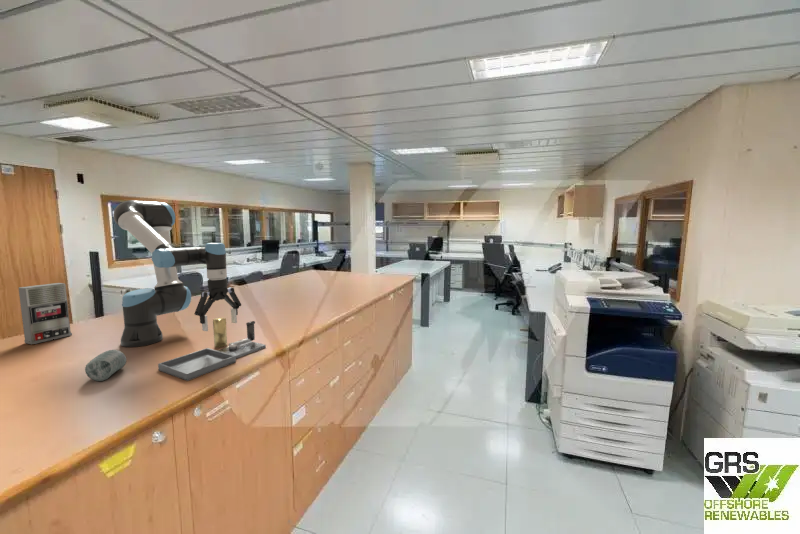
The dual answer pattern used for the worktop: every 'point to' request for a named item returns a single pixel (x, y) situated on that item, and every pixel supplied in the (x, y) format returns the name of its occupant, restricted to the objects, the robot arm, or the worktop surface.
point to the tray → (196, 363)
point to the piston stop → (220, 332)
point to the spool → (105, 365)
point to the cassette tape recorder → (44, 312)
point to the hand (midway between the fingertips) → (220, 326)
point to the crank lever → (249, 336)
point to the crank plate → (243, 349)
